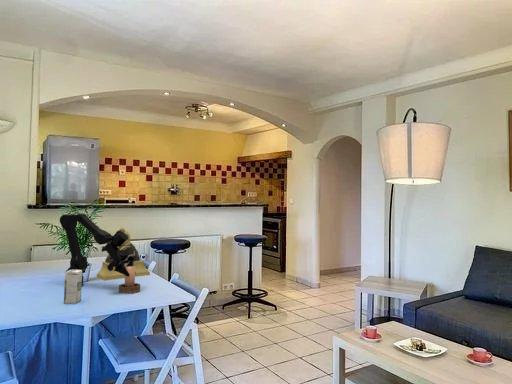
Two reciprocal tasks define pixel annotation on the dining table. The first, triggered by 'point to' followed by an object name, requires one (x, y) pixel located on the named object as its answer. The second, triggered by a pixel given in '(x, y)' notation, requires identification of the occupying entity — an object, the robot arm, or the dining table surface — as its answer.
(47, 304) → the dining table surface
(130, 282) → the terracotta canister
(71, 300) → the syrup box
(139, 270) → the decorative clock
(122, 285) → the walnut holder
